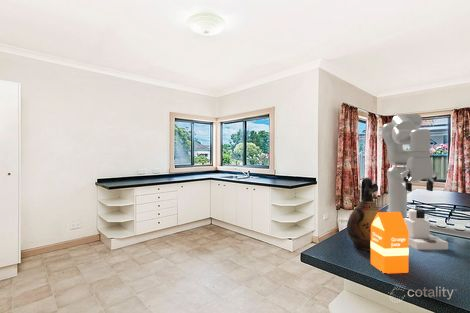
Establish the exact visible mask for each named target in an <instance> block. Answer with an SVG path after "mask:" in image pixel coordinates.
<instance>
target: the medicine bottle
mask: <svg viewBox="0 0 470 313" xmlns="http://www.w3.org/2000/svg"><path fill="white" fill-rule="evenodd" d="M425 213H426V212H425V210H423V209H419V208H410V209H407V216H408V217H409V218H404V221H405V224H406V226H407V228H408V230H409V236H411V237H413V238H430V235H431V234H430V232H431V230H430V228H431V226H430V225H431V224H430V223H431V222H429V221H427V220H425V217H426V214H425Z"/></svg>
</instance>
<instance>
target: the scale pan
mask: <svg viewBox="0 0 470 313" xmlns="http://www.w3.org/2000/svg"><path fill="white" fill-rule="evenodd" d="M409 238H411V239H435V238H433V237H431V236H430V238H413V237H411V236H409Z"/></svg>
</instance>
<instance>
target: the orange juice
mask: <svg viewBox="0 0 470 313" xmlns="http://www.w3.org/2000/svg"><path fill="white" fill-rule="evenodd" d="M409 246H410V245H409V230H408V228H407V226H406V224H405V221H404V219H403V217H402V214H401V212H387V211H383V212H382V211H380V212H377V215H376V217H375V218H374V220H373V222H372V224H371V251H370V264H371V266H373V267H375V268H376V269H377V270H379V271H380V272H381V271H382V272H381V273H383V274H384V273H387V274H403V273H405V274H406V273H409V256H410V255H409V254H410V253H409V250H410V248H409Z"/></svg>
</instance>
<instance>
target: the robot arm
mask: <svg viewBox="0 0 470 313" xmlns="http://www.w3.org/2000/svg"><path fill="white" fill-rule="evenodd" d="M422 124H423V118H422V116H421V115H420V114H419V113H400V114H396V115H394V116H393V117H392V119H391V122H387V123H385V124H383V125H382V127H381V135H382V138H383V140H384V141H383V142H384V143H385V145H386V146H385V147H386V154H387V160H388V164H389V165H391V166H392V167H389V168H388V169H387V171H386V179H387V185H388V190H387V192H388V204H387V205H388V208H387V209H386V212H401V214H402V217H403V219H404V218H407V216H408V192H412V190H413V187H412V186H413V184H417V183H420V182H421V181H422V180H426V189H425V190H426V191H427V192H428V191H429V192H433V191H434V183H435V182H436V180H437V179H438V177H439V175H440V173H439V172H437V171H435V170H434V166H433V161H432V158H431V156H433V152H431V130H430V129H429V128H420V127H421V126H422ZM403 145H410V149H409V150H405V149H404V146H403ZM404 183H405V186H404Z"/></svg>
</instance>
